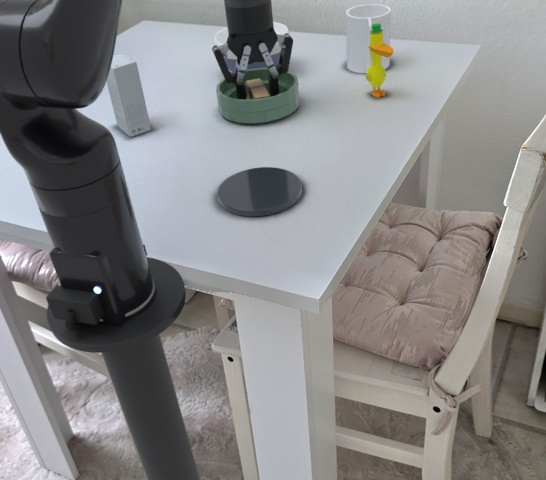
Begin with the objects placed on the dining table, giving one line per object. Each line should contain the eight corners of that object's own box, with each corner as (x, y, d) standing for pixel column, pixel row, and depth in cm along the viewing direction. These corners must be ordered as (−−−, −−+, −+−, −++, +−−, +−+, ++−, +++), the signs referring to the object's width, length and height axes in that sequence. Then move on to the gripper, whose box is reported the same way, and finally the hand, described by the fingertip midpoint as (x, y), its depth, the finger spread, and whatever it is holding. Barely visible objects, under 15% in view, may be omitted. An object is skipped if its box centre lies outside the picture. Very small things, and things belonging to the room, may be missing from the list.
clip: (272, 113, 114) (270, 94, 112) (256, 116, 114) (254, 98, 112) (262, 95, 120) (260, 77, 118) (247, 98, 120) (245, 80, 118)
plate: (288, 220, 89) (288, 213, 88) (206, 213, 92) (205, 206, 92) (310, 175, 97) (310, 169, 97) (234, 170, 101) (233, 164, 100)
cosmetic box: (152, 130, 115) (137, 61, 107) (130, 138, 113) (112, 69, 105) (138, 119, 119) (123, 52, 111) (116, 126, 117) (99, 59, 109)
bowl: (307, 66, 131) (304, 26, 126) (258, 92, 123) (254, 51, 118) (252, 54, 138) (248, 16, 134) (203, 78, 130) (197, 39, 126)
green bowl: (287, 127, 110) (284, 102, 107) (208, 124, 114) (204, 99, 111) (308, 92, 120) (306, 68, 118) (235, 90, 124) (232, 67, 122)
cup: (348, 82, 122) (346, 27, 116) (346, 58, 132) (345, 6, 125) (392, 79, 122) (394, 23, 115) (388, 55, 131) (389, 2, 124)
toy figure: (398, 98, 115) (400, 27, 107) (382, 104, 114) (383, 33, 106) (375, 86, 120) (375, 18, 112) (359, 92, 119) (358, 23, 111)
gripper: (207, 12, 102) (222, 116, 113) (296, -3, 104) (303, 101, 114) (200, -1, 108) (215, 99, 118) (285, -15, 109) (292, 85, 120)
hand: (258, 99), depth 116 cm, fingers open, 4 cm apart
